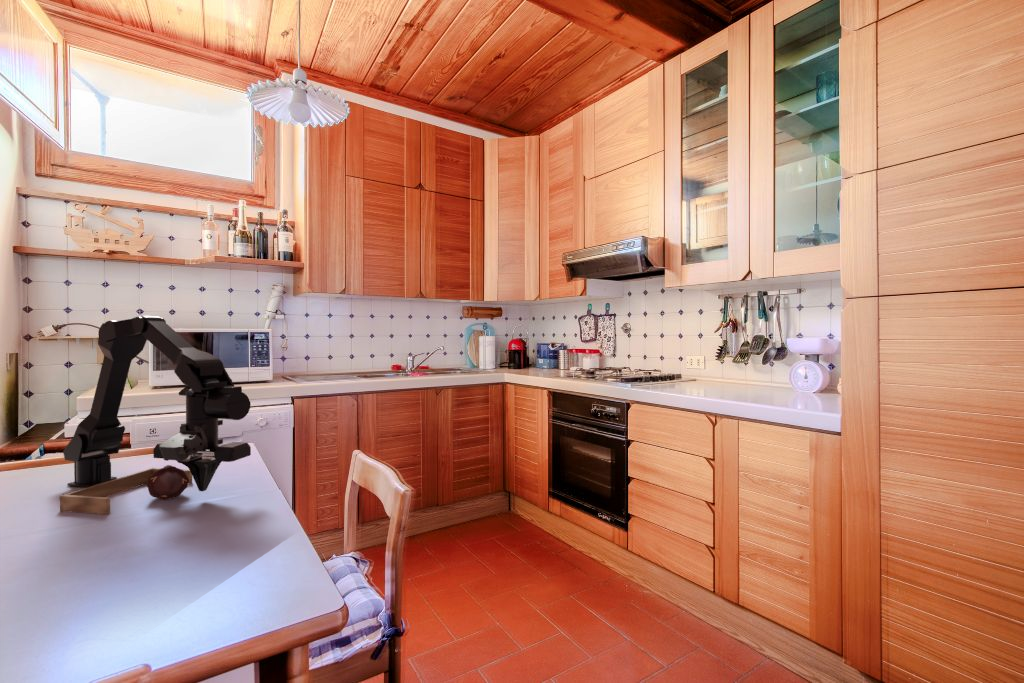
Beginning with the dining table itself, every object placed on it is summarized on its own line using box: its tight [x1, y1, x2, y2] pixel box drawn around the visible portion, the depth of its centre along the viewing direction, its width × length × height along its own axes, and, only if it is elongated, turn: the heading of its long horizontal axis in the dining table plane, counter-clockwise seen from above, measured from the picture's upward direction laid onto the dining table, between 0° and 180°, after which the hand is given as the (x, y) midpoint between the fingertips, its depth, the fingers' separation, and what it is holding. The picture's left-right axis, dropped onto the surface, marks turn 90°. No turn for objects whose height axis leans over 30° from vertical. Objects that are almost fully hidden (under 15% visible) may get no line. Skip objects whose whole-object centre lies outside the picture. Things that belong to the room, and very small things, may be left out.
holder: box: [59, 467, 193, 515], centre depth 104 cm, size 11×20×3 cm, turn 171°
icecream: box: [145, 464, 189, 501], centre depth 103 cm, size 7×7×15 cm
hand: (202, 490), depth 102 cm, fingers closed
